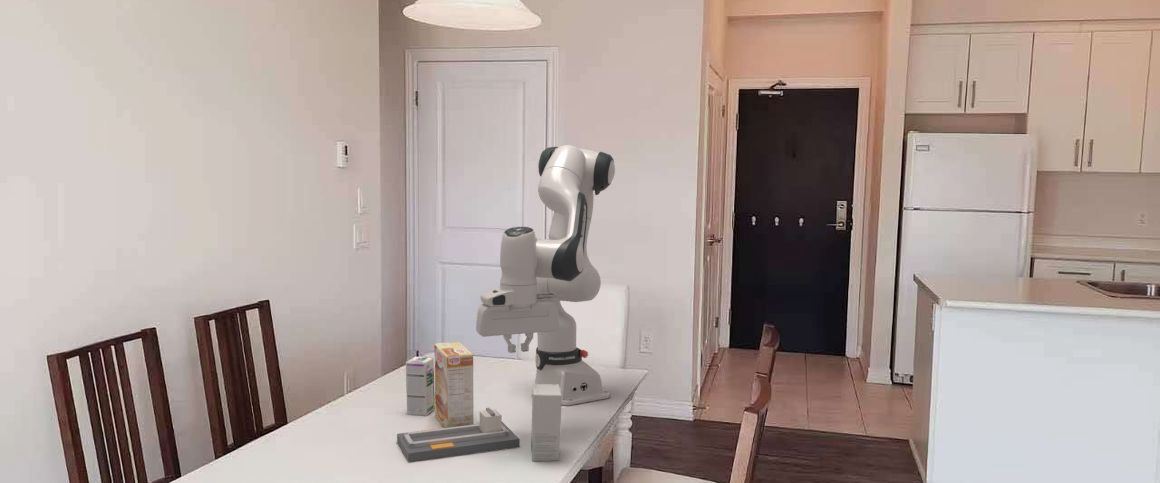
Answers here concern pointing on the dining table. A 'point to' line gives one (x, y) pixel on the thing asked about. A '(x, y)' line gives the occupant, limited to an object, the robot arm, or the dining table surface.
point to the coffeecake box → (453, 385)
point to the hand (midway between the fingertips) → (518, 351)
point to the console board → (454, 442)
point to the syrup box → (420, 386)
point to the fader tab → (490, 421)
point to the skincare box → (546, 422)
